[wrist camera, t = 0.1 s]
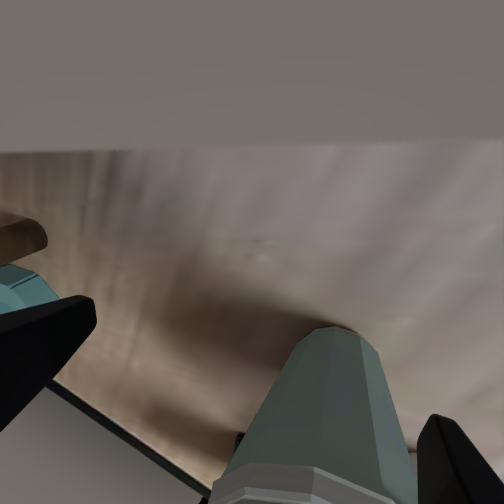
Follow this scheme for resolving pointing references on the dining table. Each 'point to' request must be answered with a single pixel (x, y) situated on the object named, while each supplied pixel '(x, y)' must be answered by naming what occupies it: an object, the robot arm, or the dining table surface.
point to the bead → (22, 289)
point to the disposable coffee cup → (323, 433)
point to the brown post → (21, 240)
